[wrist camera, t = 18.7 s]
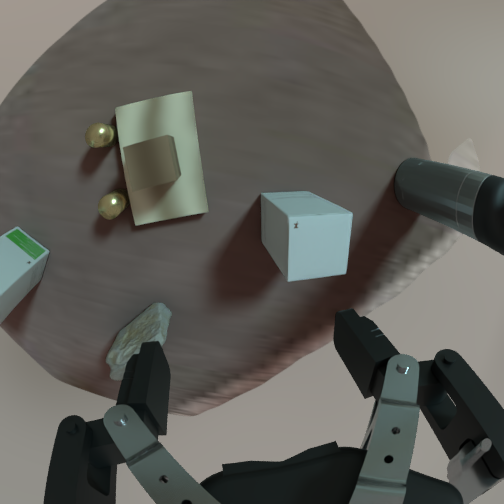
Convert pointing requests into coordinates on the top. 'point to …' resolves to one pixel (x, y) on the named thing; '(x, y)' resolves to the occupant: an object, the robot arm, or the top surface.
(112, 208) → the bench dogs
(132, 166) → the walnut block
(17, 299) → the skincare box
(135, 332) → the stone
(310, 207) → the supplement box
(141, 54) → the top surface
